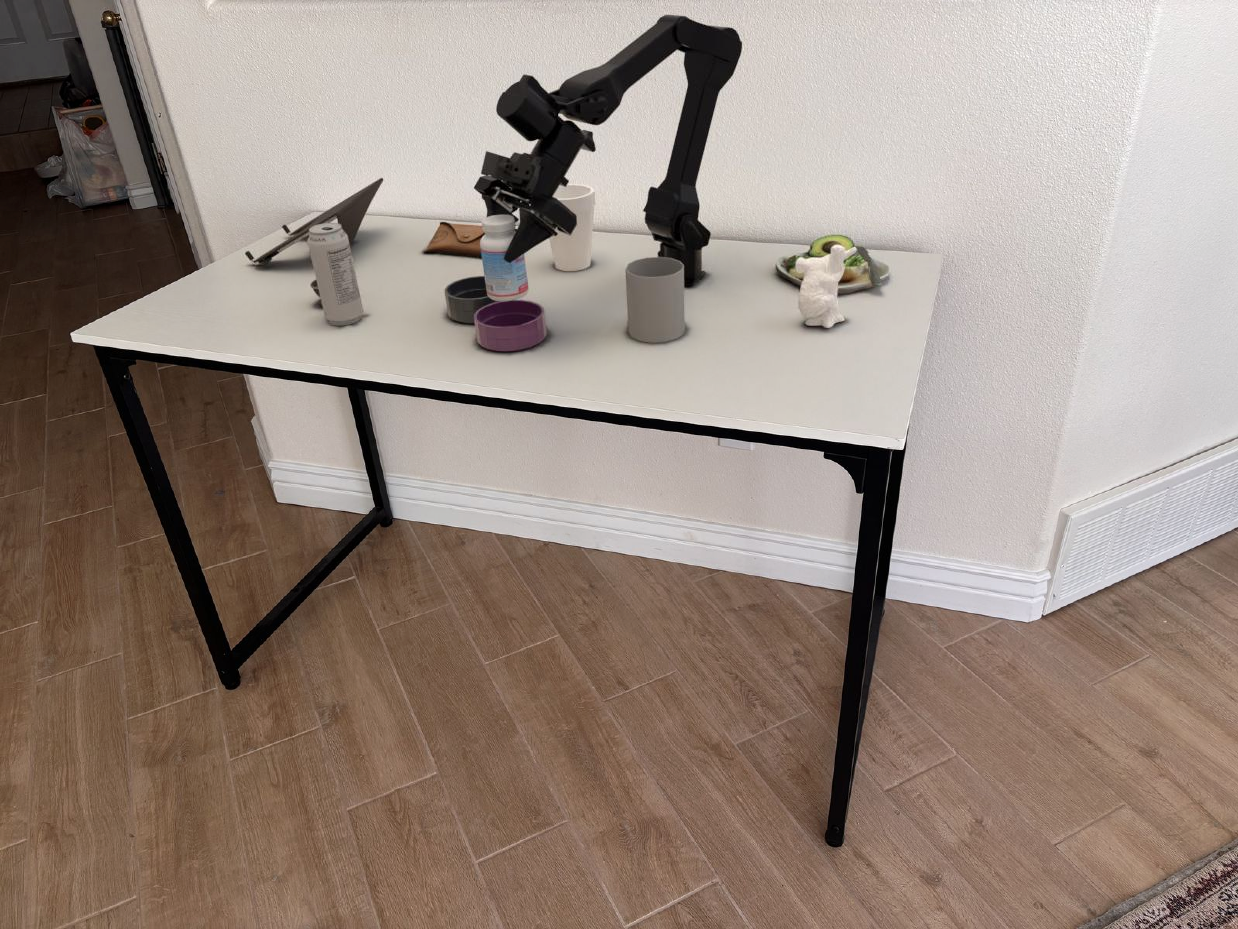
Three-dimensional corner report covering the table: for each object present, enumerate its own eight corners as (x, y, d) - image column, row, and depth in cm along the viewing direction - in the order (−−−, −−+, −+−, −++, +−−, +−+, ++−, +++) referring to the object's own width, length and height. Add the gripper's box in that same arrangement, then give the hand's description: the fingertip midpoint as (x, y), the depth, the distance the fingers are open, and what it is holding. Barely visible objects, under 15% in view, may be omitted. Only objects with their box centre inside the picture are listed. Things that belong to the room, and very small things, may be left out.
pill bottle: (530, 299, 133) (521, 223, 127) (488, 304, 133) (477, 228, 127) (527, 284, 138) (518, 210, 132) (486, 289, 138) (475, 215, 132)
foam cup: (609, 265, 164) (604, 191, 157) (564, 278, 159) (558, 203, 152) (580, 252, 170) (575, 180, 163) (537, 264, 166) (529, 191, 159)
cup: (645, 347, 134) (642, 281, 129) (618, 328, 140) (615, 264, 135) (695, 333, 137) (694, 269, 132) (667, 315, 143) (665, 253, 138)
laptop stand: (317, 259, 192) (289, 220, 189) (403, 209, 184) (376, 167, 180) (267, 301, 173) (235, 259, 169) (360, 248, 165) (328, 202, 161)
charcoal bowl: (522, 304, 150) (519, 280, 148) (488, 328, 143) (485, 302, 140) (471, 296, 154) (468, 272, 152) (435, 319, 147) (431, 294, 144)
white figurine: (850, 315, 140) (857, 238, 134) (850, 333, 134) (857, 253, 128) (794, 313, 142) (798, 236, 135) (791, 331, 136) (795, 252, 130)
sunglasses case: (419, 251, 174) (424, 215, 173) (438, 258, 180) (443, 224, 180) (505, 258, 168) (510, 221, 167) (521, 266, 174) (526, 230, 174)
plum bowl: (559, 329, 141) (556, 304, 139) (523, 357, 133) (520, 331, 131) (501, 320, 145) (498, 296, 143) (463, 346, 137) (460, 321, 135)
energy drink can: (347, 309, 152) (327, 219, 144) (372, 316, 149) (353, 224, 141) (318, 322, 148) (296, 230, 140) (343, 329, 145) (322, 236, 137)
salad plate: (921, 286, 148) (925, 258, 146) (826, 307, 143) (828, 279, 140) (850, 251, 164) (852, 225, 161) (762, 269, 158) (763, 243, 156)
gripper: (476, 117, 132) (420, 212, 132) (550, 136, 119) (489, 241, 119) (528, 161, 140) (476, 251, 140) (603, 184, 127) (545, 282, 128)
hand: (494, 255), depth 132 cm, fingers closed on pill bottle, 6 cm apart
